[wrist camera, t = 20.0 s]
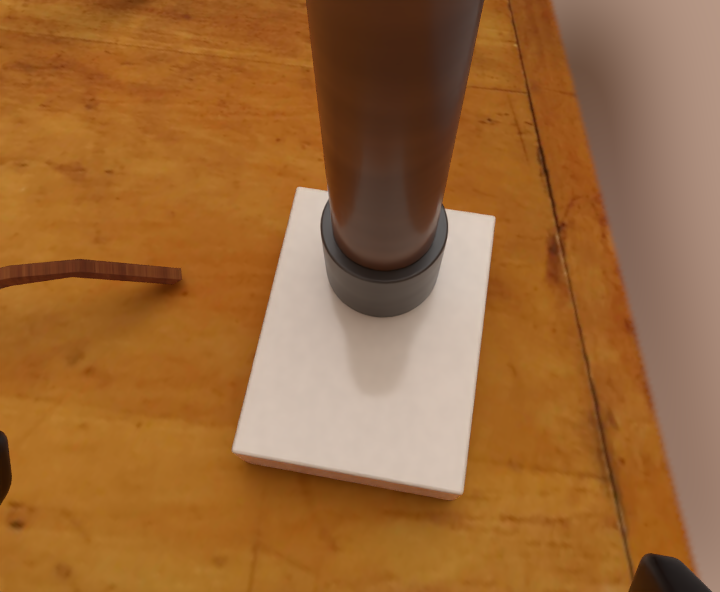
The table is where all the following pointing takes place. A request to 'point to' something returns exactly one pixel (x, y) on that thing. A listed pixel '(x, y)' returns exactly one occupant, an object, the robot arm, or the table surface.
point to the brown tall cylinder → (388, 140)
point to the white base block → (368, 368)
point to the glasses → (87, 272)
